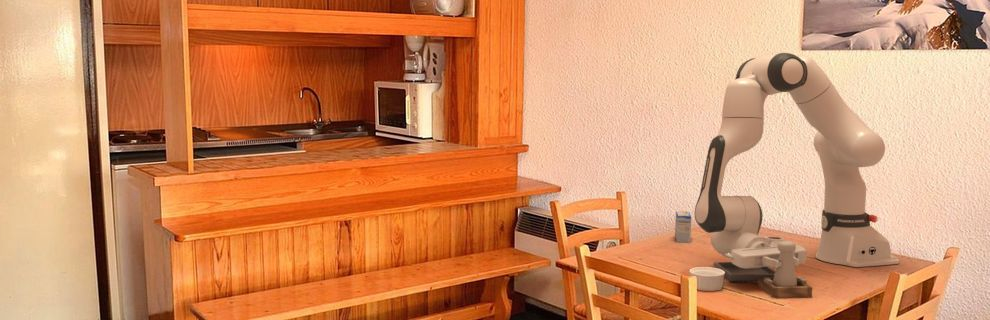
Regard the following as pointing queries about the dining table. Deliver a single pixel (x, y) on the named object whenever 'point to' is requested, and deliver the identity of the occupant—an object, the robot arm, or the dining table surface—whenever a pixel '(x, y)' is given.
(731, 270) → the tray
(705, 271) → the ramekin
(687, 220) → the medicine box
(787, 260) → the salt shaker
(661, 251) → the dining table surface
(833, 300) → the dining table surface
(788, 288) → the tray
